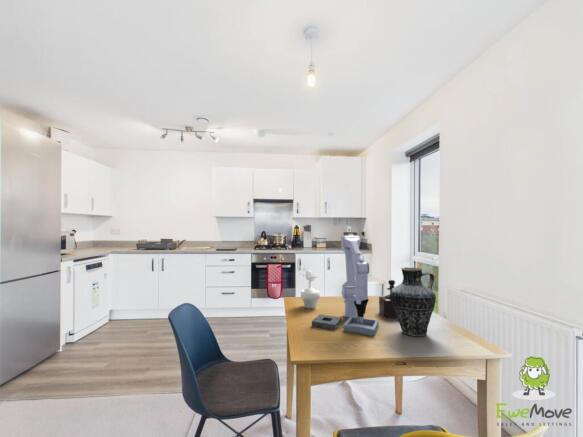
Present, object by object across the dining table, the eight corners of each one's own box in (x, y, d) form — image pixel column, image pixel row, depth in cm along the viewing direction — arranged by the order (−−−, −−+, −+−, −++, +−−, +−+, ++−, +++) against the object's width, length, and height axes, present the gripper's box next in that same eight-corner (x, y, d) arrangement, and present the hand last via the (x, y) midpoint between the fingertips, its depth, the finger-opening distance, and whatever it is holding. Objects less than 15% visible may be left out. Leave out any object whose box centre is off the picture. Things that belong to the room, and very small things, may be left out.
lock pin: (356, 320, 144) (358, 302, 143) (364, 322, 142) (366, 304, 142) (354, 322, 140) (356, 304, 140) (363, 324, 138) (364, 306, 138)
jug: (408, 343, 123) (407, 272, 124) (382, 327, 142) (381, 266, 143) (448, 338, 129) (447, 270, 129) (418, 323, 148) (417, 264, 148)
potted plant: (298, 305, 180) (298, 264, 181) (315, 303, 184) (315, 264, 184) (305, 311, 168) (305, 267, 169) (323, 309, 172) (323, 267, 172)
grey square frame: (319, 319, 155) (319, 314, 155) (341, 322, 150) (341, 317, 150) (311, 326, 144) (311, 321, 144) (335, 330, 139) (335, 324, 139)
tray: (350, 322, 150) (350, 316, 150) (378, 326, 144) (378, 320, 144) (343, 331, 137) (343, 325, 137) (374, 336, 131) (374, 329, 131)
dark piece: (405, 318, 156) (405, 284, 156) (385, 318, 156) (385, 284, 156) (394, 309, 172) (393, 279, 172) (375, 309, 171) (375, 279, 171)
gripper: (356, 283, 149) (356, 310, 149) (349, 289, 136) (349, 318, 136) (370, 284, 146) (370, 312, 146) (365, 290, 133) (365, 320, 133)
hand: (361, 315), depth 141 cm, fingers open, 4 cm apart
